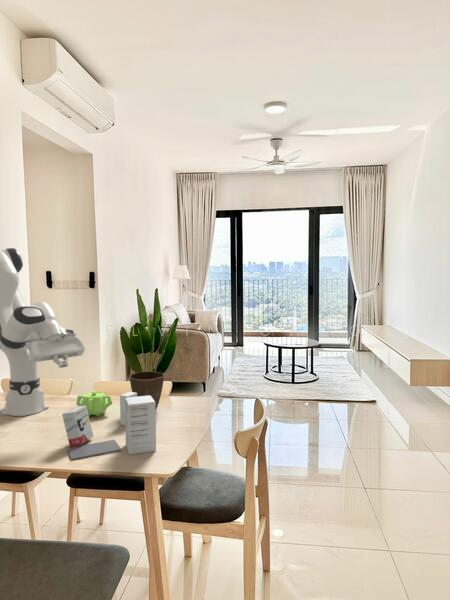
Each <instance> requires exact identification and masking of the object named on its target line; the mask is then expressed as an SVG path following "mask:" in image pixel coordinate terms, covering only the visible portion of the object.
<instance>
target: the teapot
mask: <svg viewBox="0 0 450 600" xmlns="http://www.w3.org/2000/svg"><path fill="white" fill-rule="evenodd" d="M75 405H77V407H79V406H85V405H86V407H87V411H88V416H89V417H90V416H93V415H94V416H95V417H96V418H101V415H102V414H104V413H105V412H106V411H107V409H108V407H110V406H112V405H113V399H112V396H111V395H110V394H109V395H106V394H105V392H101V391H96V390H94V391H91V392H89V393H86V394H84V395H83V394H82V395H77V399H76V404H75Z"/></svg>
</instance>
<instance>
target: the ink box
mask: <svg viewBox="0 0 450 600" xmlns="http://www.w3.org/2000/svg"><path fill="white" fill-rule="evenodd" d="M61 416H62V420H63V424H64V428H65V431H66V432H65V433H66V436H67V441H68V446H69V448H70V447H75V446H81V445H85V443H86V442H88V441H89V440H91V439H92V438H93V437H94V432H93V429H92V424H91V420H90V416H88V411H87V407H86V405H85V406H74V407H73V408H71V409H69V410H67V411H65V412H63V413H62V415H61Z"/></svg>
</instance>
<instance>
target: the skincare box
mask: <svg viewBox="0 0 450 600" xmlns="http://www.w3.org/2000/svg"><path fill="white" fill-rule="evenodd" d="M129 397H137V393H135V392H132V391H127V392H125V393H122V394H120V395H119V414H120V415H119V416H120V420H119V421H120V425H121V426H125V422H126V417H125V398H129Z"/></svg>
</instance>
